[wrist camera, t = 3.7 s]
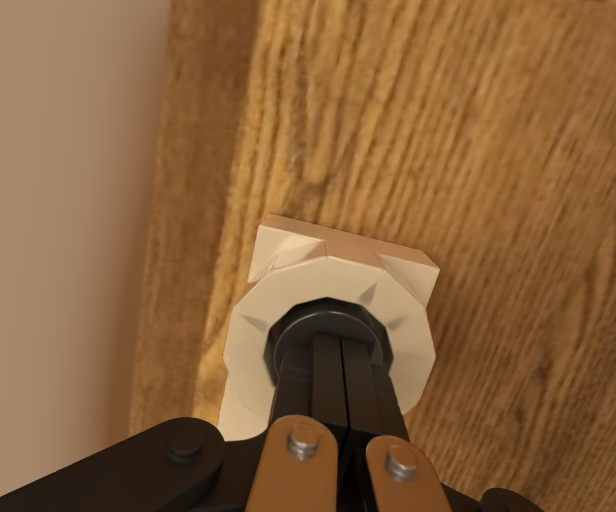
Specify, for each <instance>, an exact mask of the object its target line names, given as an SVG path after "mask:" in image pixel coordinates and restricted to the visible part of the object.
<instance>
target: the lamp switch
mask: <svg viewBox="0 0 616 512" xmlns="http://www.w3.org/2000/svg"><path fill="white" fill-rule="evenodd" d="M314 332H316V333H320V334H324V335H328V336H333V337H337V338H339V339H340V338H342V339H346V340H350V341H354V342H359V343H363V344H365V345H366V347H367V352H368V356H369V361H370V363H372V364H377V365H381V367H382V368H383V350H382V346H381V343H380V339H379V336H378V333H377V329H376V326H375V323H374V320H373V317H372V315H371V314H370V313H369V312H368V311H367V310H366V309H365V308H364V307H363V306H362V305H359V304H355V303H351V302H347V301H342V300H338V299H334V298H330V297H324V298H320V299H316V300H313V301H309V302H305V303H301V304H297V305H294V306H293V307H292V308H291V309H290V310H289V311H288V312H287V313H286V314H285V315H284V316H283V317H282V319H281V322H280V326H279V331H278V335H277V339H276V344H275V348H274V354H273V363H274V368H275V372H276V375H277V377H278V375H279V371H280V367H281V364H282V360H283V356H284V353H285V352H286V351H287V350H288V349H289V348H291V347H292V346H293V345H295V346H299V347H303V348H308V349H309V347H310V343H311V340H312V336H313V334H314Z"/></svg>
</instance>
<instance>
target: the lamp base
mask: <svg viewBox="0 0 616 512" xmlns="http://www.w3.org/2000/svg"><path fill="white" fill-rule="evenodd" d="M439 271H440V269H439V268H438V266H437V265H436V264H435V263H434V262H433V261H432V260H431V259H430V258H429V257H428V256H427V255H426V254H425V253H424V252H423V251H422V250H418V249H414V248H410V247H406V246H401V245H397V244H393V243H389V242H385V241H381V240H377V239H373V238H369V237H365V236H361V235H357V234H353V233H349V232H344V231H340V230H336V229H332V228H328V227H324V226H320V225H316V224H312V223H308V222H304V221H300V220H296V219H292V218H287V217H283V216H279V215H275V214H271V213H268V214H267V216H266V217H265V218H264V220H263V221H262V222H261V223H260V225H259V226H258V230H257V235H256V240H255V245H254V250H253V254H252V259H251V264H250V269H249V274H248V279H247V283H246V285H245V287H244V288H243V290H242V292H241V294H240V296H239V298H238V299H237V301H236V303H235V305H234V307H233V309H232V311H231V316H230V321H229V326H228V331H227V336H226V341H225V346H224V351H223V357H224V359H223V360H224V362H225V365H226V367H227V370H228V375H227V380H226V385H225V390H224V394H223V399H222V404H221V409H220V414H219V419H218V423H217V429H218V430H219V431H220V432H221V434H222V436H223V437H224V440H225V441H237V440H245V439H249V438H252V437H255V436H257V435H259V434H260V433H262V432H263V431H264V430H266V428H267V425H268V420H269V415H270V409H271V404H272V399H273V395H274V391H275V387H276V383H277V379H278V377H277V375H276V372H275V368H274V363H273V354H274V348H275V344H276V339H277V335H278V331H279V326H280V322H281V319H282V317H283V316H284V315H285V314H286V313H287V312H288V311H289V310H290V309H291V308H292V307H293V306H294V305H297V304H301V303H305V302H309V301H313V300H316V299H320V298H324V297H330V298H334V299H338V300H342V301H347V302H351V303H355V304H359V305H362V306H363V307H364V308H365V309H366V310H367V311H368V312H369V313H370V314H371V315H372V317H373V320H374V323H375V326H376V329H377V333H378V336H379V339H380V343H381V346H382V350H383V369H384V370H385V371H386V373H387V374H388V375H389V376H390V378H391V380H392V383H393V386H394V390H395V394H396V396H397V400H398V405H399V406H400V410H401V413H402V416H403V415H404V414H405V413H407V412H408V411H409V410H411V409H412V408H413V407H414V406H416V405H417V403H418V402H419V400H420V398H421V395H422V393H423V390H424V387H425V385H426V382H427V380H428V377H429V375H430V372H431V370H432V367H433V364H434V362H435V359H436V354H435V349H434V345H433V340H432V336H431V332H430V327H429V323H428V318H427V314H426V307H427V304H428V301H429V298H430V296H431V293H432V290H433V288H434V285H435V282H436V279H437V277H438V274H439Z"/></svg>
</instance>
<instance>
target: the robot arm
mask: <svg viewBox="0 0 616 512" xmlns="http://www.w3.org/2000/svg"><path fill="white" fill-rule="evenodd" d="M0 512H544V511H542V510H541V509H540V508H539V507H537V506H536V505H535V504H534V503H532V502H531V501H529V500H528V499H526V498H525V497H523V496H521V495H519V494H517V493H515V492H513V491H510V490H507V489H503V488H491V489H489V490H487V491H486V492H485V493H484V494H483V496H482V498H481V500H480V502H478V501H476V500H474V499H472V498H470V497H468V496H466V495H464V494H462V493H460V492H458V491H456V490H454V489H452V488H450V487H448V486H446V485H444V484H443V483H441V482H440V481H439V478H438V476H437V474H436V471H435V469H434V467H433V465H432V463H431V462H430V460H429V459H428V458H427V456H426V455H425V454H424V453H423V452H422V451H421V450H420V449H418V448H417V447H416V446H414V445H413V444H411V443H410V440H409V436H408V433H407V430H406V426H405V423H404V420H403V416H402V413H401V410H400V406H399V405H398V400H397V396H396V394H395V390H394V386H393V383H392V380H391V378H390V376H389V375H388V374H387V373H386V371H385V370H384V369H383V368H382V367H381V365H377V364H372V363H370V361H369V356H368V352H367V347H366V345H365V344H363V343H359V342H354V341H350V340H346V339H342V338H340V339H339V338H337V337H333V336H328V335H324V334H320V333H316V332H314V334H313V336H312V340H311V343H310V347H309V349H308V348H303V347H299V346H295V345H293V346H292V347H291V348H289V349H288V350H287V351H286V352H285V353H284V356H283V360H282V364H281V367H280V371H279V375H278V379H277V383H276V387H275V391H274V395H273V399H272V404H271V409H270V415H269V420H268V425H267V428H266V430H264V431H263V432H262V433H260V434H259V435H257V436H255V437H252V438H249V439H245V440H237V441H225V440H224V437H223V436H222V434H221V432H220V431H219V430H218V429H217V428H216V427H215V426H214V425H212V424H210V423H209V422H207V421H204V420H201V419H198V418H191V417H182V418H175V419H171V420H168V421H165V422H163V423H161V424H159V425H156V426H154V427H152V428H150V429H148V430H145V431H143V432H141V433H139V434H137V435H135V436H132V437H130V438H128V439H126V440H124V441H121V442H119V443H117V444H115V445H113V446H110V447H108V448H106V449H104V450H102V451H100V452H97V453H95V454H93V455H91V456H89V457H86V458H84V459H82V460H80V461H78V462H76V463H73V464H71V465H69V466H67V467H65V468H63V469H60V470H58V471H56V472H54V473H52V474H49V475H47V476H45V477H43V478H41V479H38V480H36V481H34V482H32V483H30V484H27V485H25V486H23V487H21V488H19V489H16V490H14V491H12V492H10V493H8V494H6V495H3V496H1V497H0Z"/></svg>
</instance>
